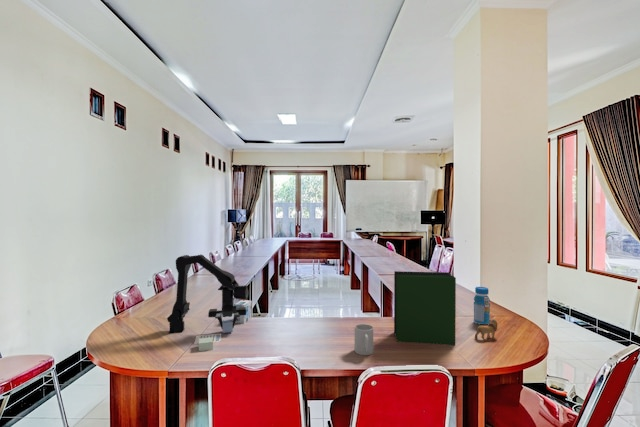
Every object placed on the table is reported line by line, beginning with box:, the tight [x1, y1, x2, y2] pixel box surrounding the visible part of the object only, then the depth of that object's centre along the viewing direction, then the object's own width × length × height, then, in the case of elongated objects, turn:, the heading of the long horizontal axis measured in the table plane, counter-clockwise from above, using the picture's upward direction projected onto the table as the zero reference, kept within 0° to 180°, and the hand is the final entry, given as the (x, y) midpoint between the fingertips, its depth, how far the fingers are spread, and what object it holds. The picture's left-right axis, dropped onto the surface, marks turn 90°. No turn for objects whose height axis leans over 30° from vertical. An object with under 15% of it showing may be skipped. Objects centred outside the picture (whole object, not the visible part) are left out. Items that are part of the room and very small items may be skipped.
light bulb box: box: [233, 299, 253, 325], centre depth 194 cm, size 11×7×11 cm, turn 168°
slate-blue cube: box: [221, 318, 234, 334], centre depth 174 cm, size 5×5×5 cm
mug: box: [353, 323, 374, 356], centre depth 150 cm, size 12×8×11 cm
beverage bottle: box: [473, 286, 491, 325], centre depth 191 cm, size 8×8×20 cm
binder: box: [393, 270, 457, 346], centre depth 168 cm, size 27×15×32 cm, turn 83°
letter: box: [193, 333, 222, 345], centre depth 165 cm, size 12×11×1 cm
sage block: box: [198, 337, 214, 352], centre depth 154 cm, size 6×6×4 cm
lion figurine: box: [474, 318, 498, 341], centre depth 168 cm, size 15×5×9 cm, turn 118°
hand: (227, 328), depth 174 cm, fingers closed on slate-blue cube, 5 cm apart
